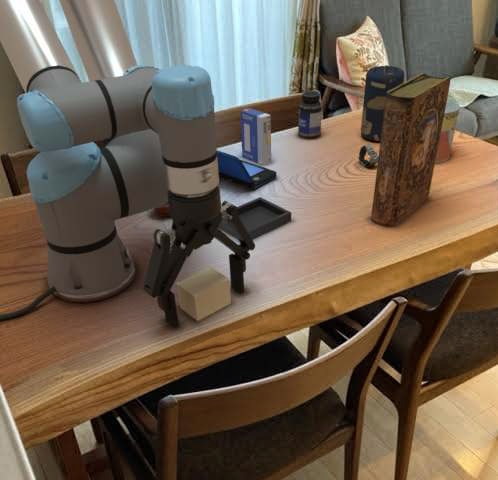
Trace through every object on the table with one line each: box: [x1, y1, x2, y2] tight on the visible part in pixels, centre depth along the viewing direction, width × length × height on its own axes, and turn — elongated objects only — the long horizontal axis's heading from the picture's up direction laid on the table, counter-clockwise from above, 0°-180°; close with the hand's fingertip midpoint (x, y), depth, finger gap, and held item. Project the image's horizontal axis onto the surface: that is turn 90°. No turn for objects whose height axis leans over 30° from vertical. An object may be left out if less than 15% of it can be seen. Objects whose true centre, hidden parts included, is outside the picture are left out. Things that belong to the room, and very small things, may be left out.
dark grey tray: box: [218, 196, 292, 240], centre depth 110 cm, size 13×10×2 cm
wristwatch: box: [357, 143, 379, 168], centre depth 130 cm, size 3×5×5 cm
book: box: [370, 72, 452, 228], centre depth 105 cm, size 16×6×25 cm, turn 141°
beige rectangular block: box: [175, 266, 232, 322], centre depth 88 cm, size 7×5×5 cm
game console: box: [217, 149, 277, 190], centre depth 125 cm, size 16×13×9 cm
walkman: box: [239, 107, 272, 166], centre depth 132 cm, size 8×3×12 cm, turn 43°
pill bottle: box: [297, 90, 323, 140], centre depth 144 cm, size 6×6×11 cm
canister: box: [360, 64, 405, 142], centre depth 139 cm, size 10×10×18 cm
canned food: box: [435, 99, 461, 164], centre depth 131 cm, size 11×11×12 cm
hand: (206, 306), depth 90 cm, fingers open, 13 cm apart
